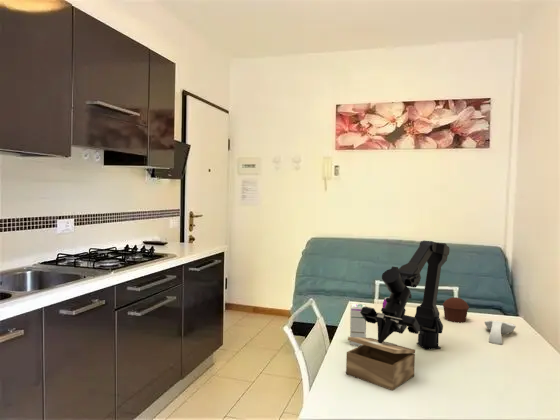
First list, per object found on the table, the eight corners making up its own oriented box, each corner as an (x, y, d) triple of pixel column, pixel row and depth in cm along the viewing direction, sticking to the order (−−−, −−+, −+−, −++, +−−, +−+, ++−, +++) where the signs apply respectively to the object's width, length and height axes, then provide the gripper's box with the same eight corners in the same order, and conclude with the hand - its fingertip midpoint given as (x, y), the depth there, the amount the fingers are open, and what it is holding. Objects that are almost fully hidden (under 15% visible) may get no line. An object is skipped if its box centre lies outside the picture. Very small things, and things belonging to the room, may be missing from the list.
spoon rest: (485, 326, 189) (486, 310, 189) (516, 331, 183) (516, 314, 183) (479, 341, 169) (480, 323, 169) (513, 347, 163) (514, 329, 163)
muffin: (449, 315, 206) (450, 294, 206) (472, 320, 198) (473, 298, 198) (437, 319, 198) (438, 297, 198) (461, 325, 190) (461, 302, 190)
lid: (369, 340, 146) (370, 337, 146) (414, 353, 135) (415, 349, 135) (347, 340, 135) (348, 336, 136) (394, 353, 125) (394, 349, 125)
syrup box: (365, 346, 161) (366, 307, 160) (349, 345, 162) (350, 306, 161) (365, 341, 166) (366, 304, 166) (350, 340, 168) (351, 303, 167)
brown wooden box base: (369, 361, 146) (369, 341, 146) (414, 375, 135) (414, 353, 135) (346, 374, 135) (346, 352, 135) (392, 390, 125) (393, 366, 124)
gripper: (431, 320, 140) (415, 363, 132) (380, 309, 153) (362, 348, 145) (421, 300, 134) (404, 344, 126) (369, 291, 147) (350, 330, 139)
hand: (379, 342), depth 134 cm, fingers closed, pressing on lid
